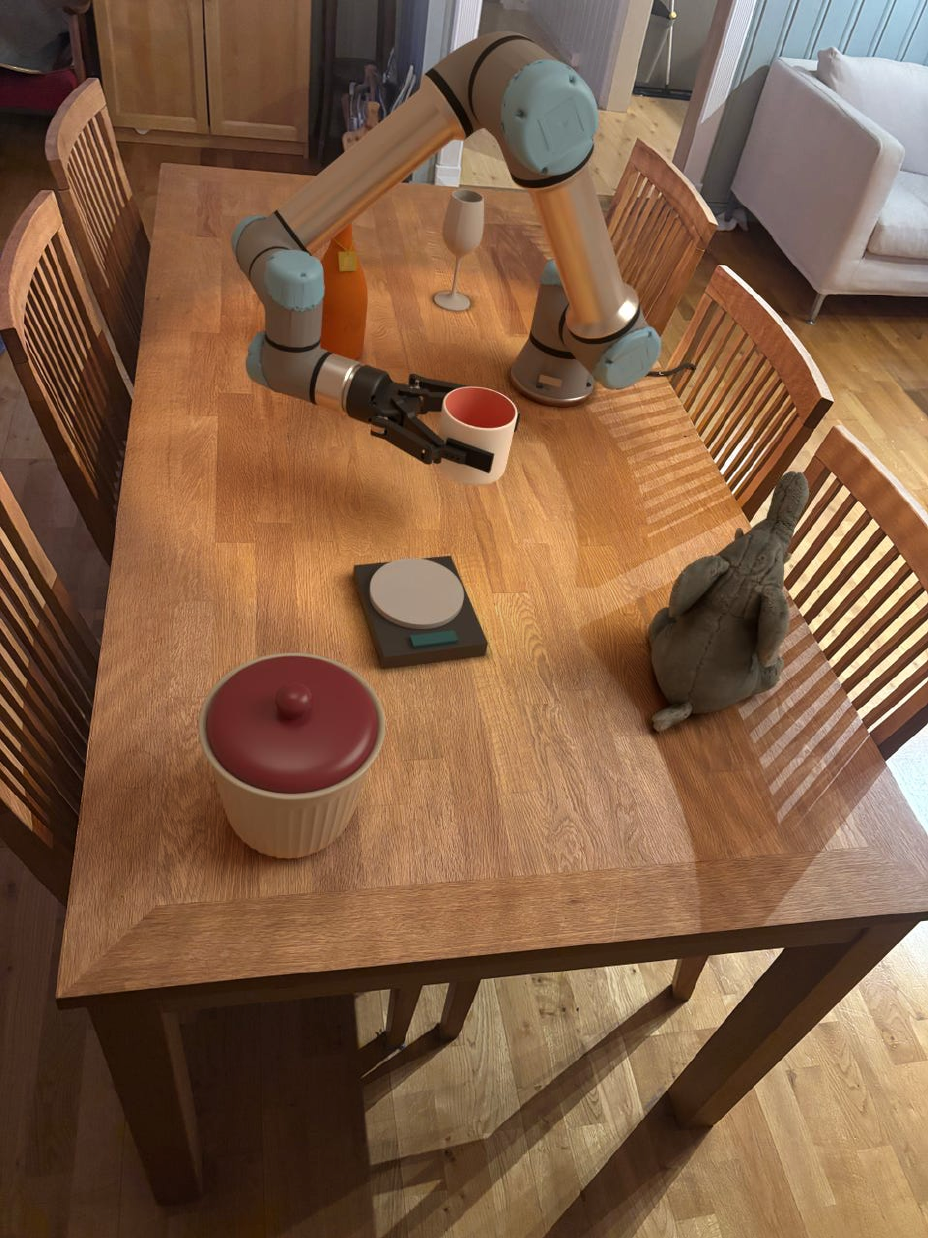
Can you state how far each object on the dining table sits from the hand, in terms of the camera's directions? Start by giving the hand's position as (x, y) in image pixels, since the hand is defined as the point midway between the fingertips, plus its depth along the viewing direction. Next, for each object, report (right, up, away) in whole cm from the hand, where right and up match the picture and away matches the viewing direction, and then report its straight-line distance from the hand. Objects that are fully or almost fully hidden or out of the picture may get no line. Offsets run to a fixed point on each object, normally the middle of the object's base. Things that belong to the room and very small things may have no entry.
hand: (505, 442), depth 130 cm
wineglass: (-8, +39, +63) cm, 74 cm away
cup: (-5, -3, +5) cm, 8 cm away
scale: (-12, -23, +1) cm, 26 cm away
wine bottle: (-29, +24, +44) cm, 57 cm away
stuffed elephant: (+26, -31, +1) cm, 41 cm away
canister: (-25, -45, -23) cm, 56 cm away
